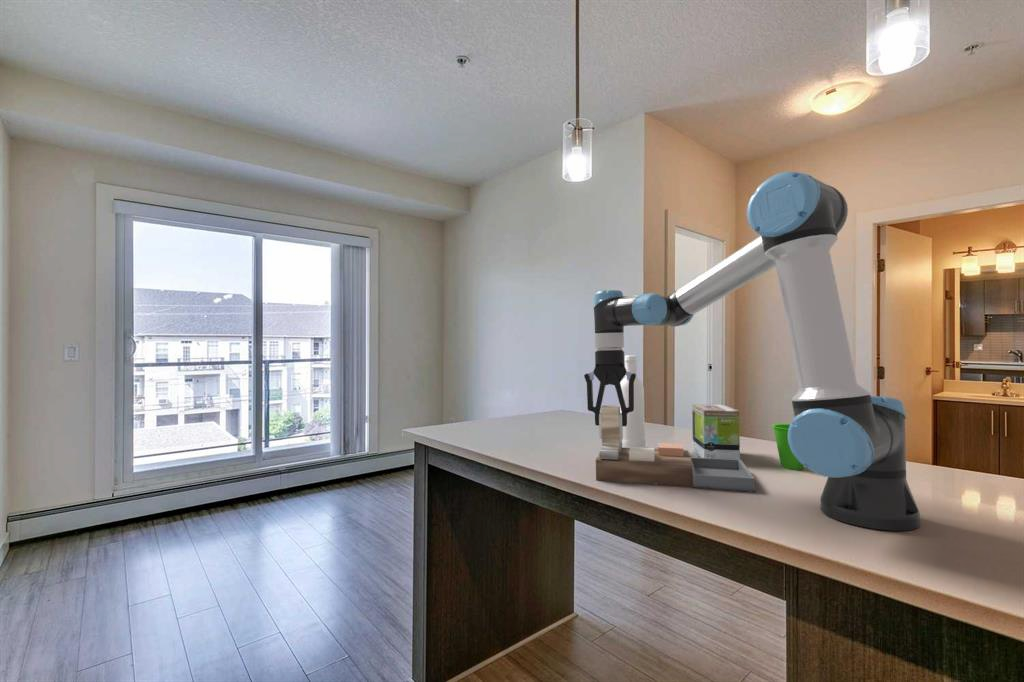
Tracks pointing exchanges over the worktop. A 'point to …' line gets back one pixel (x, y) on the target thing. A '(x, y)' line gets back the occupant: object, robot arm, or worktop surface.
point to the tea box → (716, 431)
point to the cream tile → (642, 454)
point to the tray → (721, 474)
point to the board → (646, 469)
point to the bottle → (635, 419)
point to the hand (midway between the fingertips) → (611, 438)
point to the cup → (785, 448)
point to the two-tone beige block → (610, 432)
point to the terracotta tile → (670, 449)
